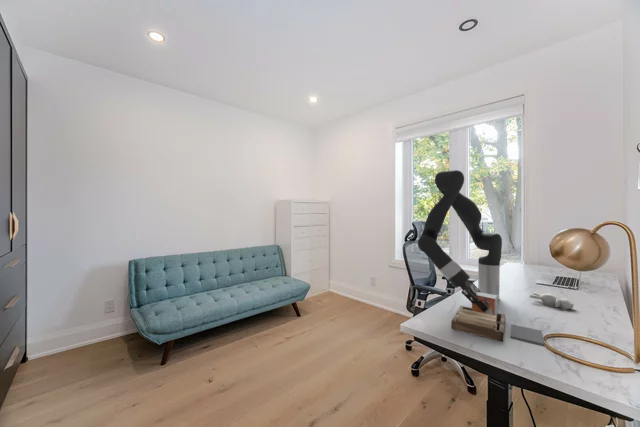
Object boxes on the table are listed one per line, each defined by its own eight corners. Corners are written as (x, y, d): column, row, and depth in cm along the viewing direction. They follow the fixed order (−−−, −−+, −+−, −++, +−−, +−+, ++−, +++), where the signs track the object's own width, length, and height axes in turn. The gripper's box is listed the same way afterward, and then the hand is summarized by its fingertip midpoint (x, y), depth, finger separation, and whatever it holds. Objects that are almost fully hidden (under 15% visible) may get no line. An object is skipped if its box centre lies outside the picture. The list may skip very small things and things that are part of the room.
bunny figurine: (571, 303, 116) (529, 291, 128) (569, 314, 117) (527, 301, 128) (575, 299, 122) (535, 287, 134) (573, 309, 122) (533, 297, 134)
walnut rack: (460, 312, 116) (460, 305, 116) (505, 321, 106) (505, 314, 106) (451, 328, 100) (451, 320, 100) (502, 341, 90) (503, 332, 90)
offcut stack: (459, 323, 105) (459, 308, 105) (496, 332, 98) (497, 315, 98) (456, 328, 100) (456, 313, 100) (496, 338, 93) (496, 321, 93)
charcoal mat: (511, 325, 103) (511, 324, 103) (541, 332, 97) (541, 330, 97) (510, 337, 93) (510, 335, 93) (543, 345, 88) (543, 343, 88)
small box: (471, 319, 107) (471, 294, 106) (474, 315, 111) (475, 290, 110) (494, 326, 101) (495, 298, 101) (497, 321, 105) (498, 295, 105)
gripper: (458, 271, 105) (493, 308, 98) (464, 265, 116) (496, 297, 109) (443, 282, 108) (476, 318, 101) (450, 275, 120) (481, 307, 113)
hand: (486, 307), depth 105 cm, fingers closed on small box, 6 cm apart
